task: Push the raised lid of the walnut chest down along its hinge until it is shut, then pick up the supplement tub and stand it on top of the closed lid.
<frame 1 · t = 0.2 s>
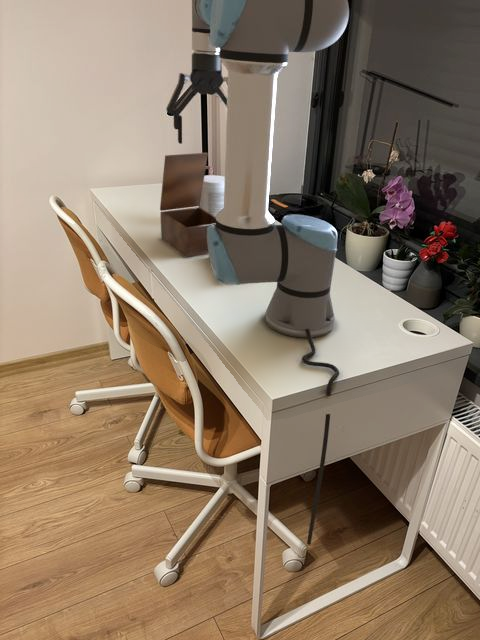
hand: (205, 143, 147), 28 cm above the table, tool pointing down, fingers open, 13 cm apart
supplement tub: (213, 225, 176), on the table
chest: (192, 245, 160), on the table
lid: (183, 182, 155), point 17 cm above the table, hinge at 75.0°
sunglasses case: (232, 269, 147), on the table
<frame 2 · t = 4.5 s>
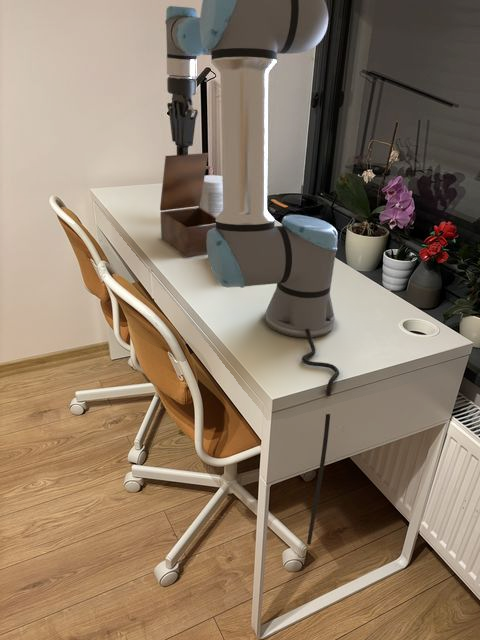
hand: (182, 170, 154), 20 cm above the table, tool pointing down, fingers closed
lid: (183, 182, 155), point 17 cm above the table, hinge at 74.2°, touching gripper
everything else where it was.
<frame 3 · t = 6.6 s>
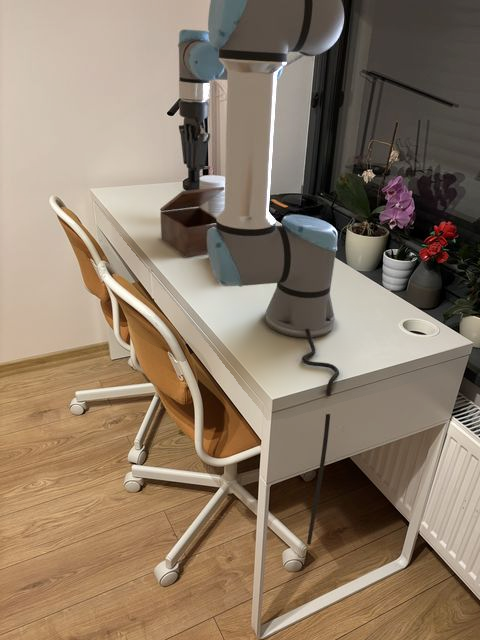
hand: (193, 193, 152), 15 cm above the table, tool pointing down, fingers closed
lid: (191, 199, 154), point 13 cm above the table, hinge at 32.0°, touching gripper
everything else where it was.
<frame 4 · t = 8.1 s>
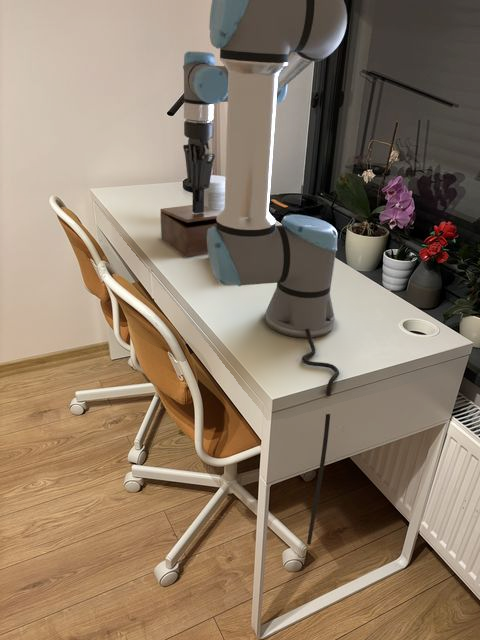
hand: (198, 211, 152), 11 cm above the table, tool pointing down, fingers closed
lid: (193, 212, 155), point 10 cm above the table, hinge at 6.3°
everything else where it was.
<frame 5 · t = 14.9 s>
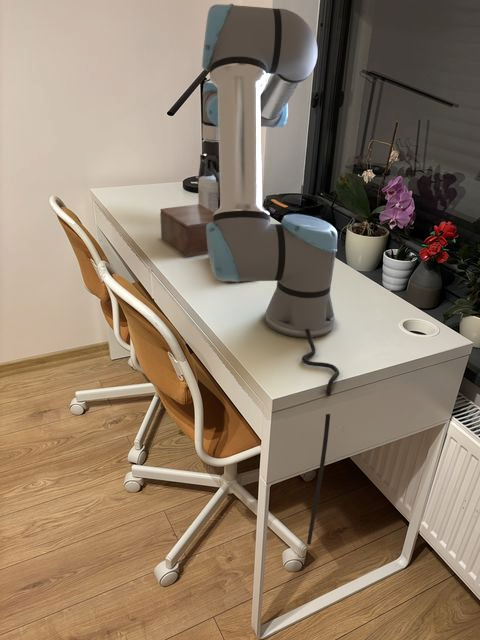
hand: (213, 214, 174), 4 cm above the table, tool pointing down, fingers closed on supplement tub, 10 cm apart
supplement tub: (213, 225, 176), on the table, touching gripper
lid: (193, 215, 155), point 9 cm above the table, hinge at 0.9°
everything else where it was.
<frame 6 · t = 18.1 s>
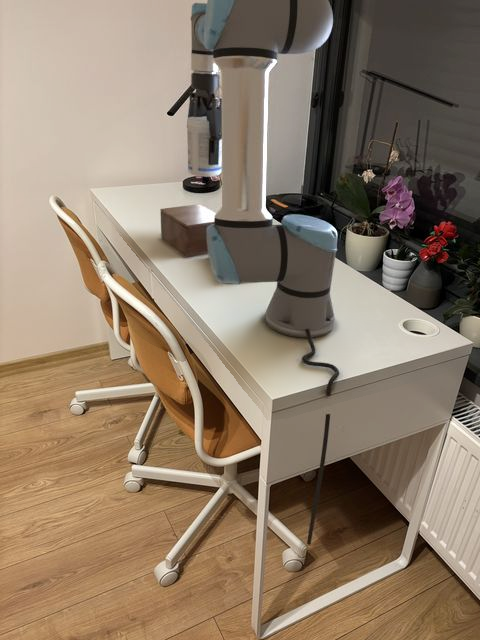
hand: (204, 160, 156), 22 cm above the table, tool pointing down, fingers closed on supplement tub, 10 cm apart
supplement tub: (204, 174, 158), point 18 cm above the table, touching gripper
everything else where it was.
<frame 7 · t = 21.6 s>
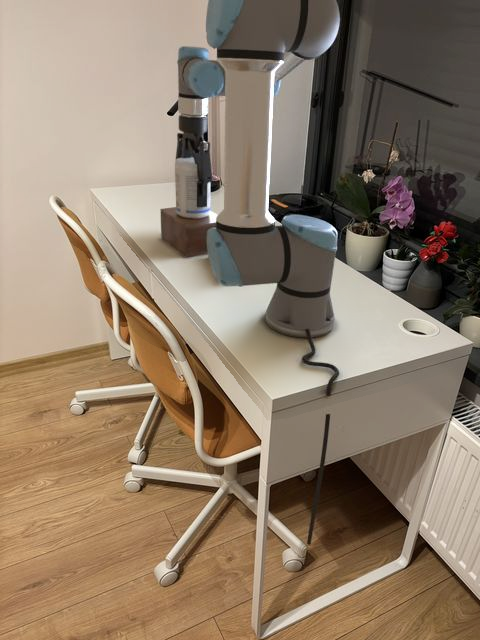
hand: (192, 201, 153), 13 cm above the table, tool pointing down, fingers closed on supplement tub, 9 cm apart
supplement tub: (192, 214, 155), point 9 cm above the table, touching gripper, lid
lid: (193, 216, 155), point 9 cm above the table, hinge at -0.1°, touching supplement tub
everything else where it was.
when the fingers open (13 cm above the table, at t = 21.7 s): supplement tub stays where it is, resting on lid.
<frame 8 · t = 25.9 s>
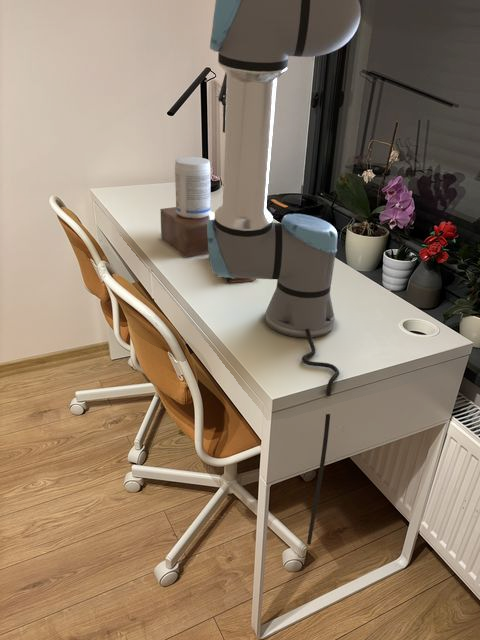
hand: (241, 137, 144), 31 cm above the table, tool pointing down, fingers open, 13 cm apart
supplement tub: (192, 214, 155), point 9 cm above the table, touching lid
everything else where it was.
at the end: lid at +0° (first picture: +75°); supplement tub inside the target area on the chest (0.0 cm from its centre), point 8.9 cm above the chest's base; supplement tub tilted 0° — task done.
